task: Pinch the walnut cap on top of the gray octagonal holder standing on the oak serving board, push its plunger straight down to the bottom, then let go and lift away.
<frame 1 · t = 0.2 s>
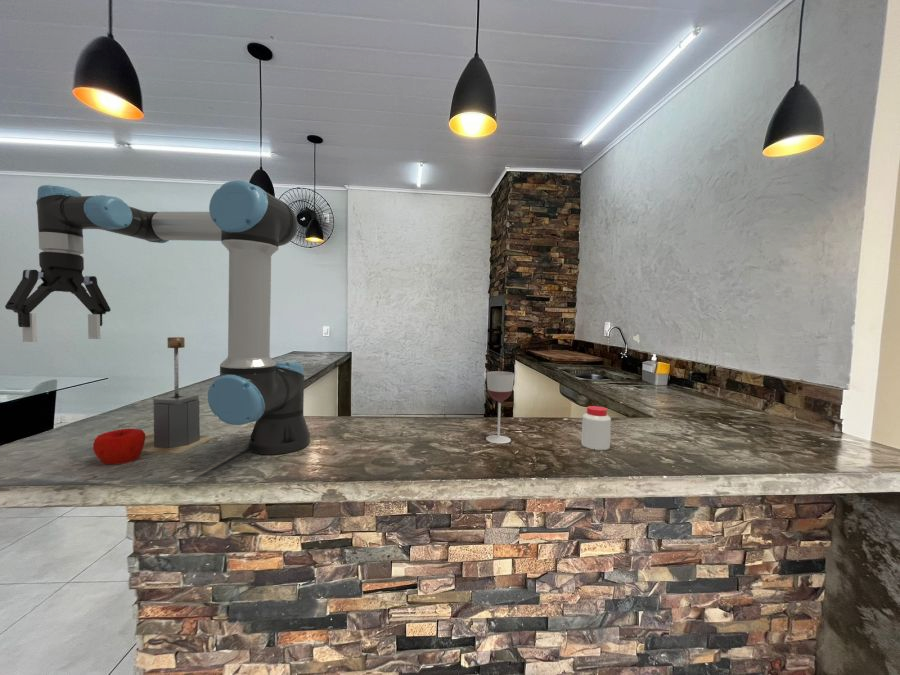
hand: (64, 340, 91), 28 cm above the countertop, fingers open, 13 cm apart
board: (160, 446, 98), on the countertop
plunger: (176, 374, 98), point 19 cm above the countertop, slide at 0.0 cm
apple: (121, 465, 86), on the countertop
wineglass: (498, 439, 111), on the countertop
pill bottle: (595, 446, 108), on the countertop
gray octagonal holder: (177, 441, 99), resting on board
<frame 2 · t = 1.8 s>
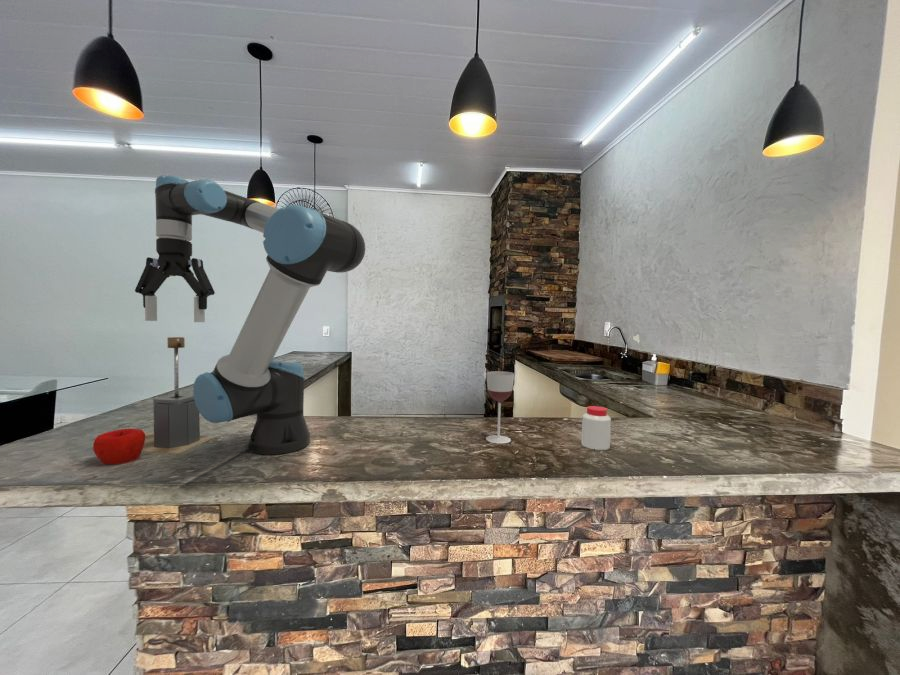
hand: (175, 321, 97), 33 cm above the countertop, fingers open, 13 cm apart
nothing on the countertop moved.
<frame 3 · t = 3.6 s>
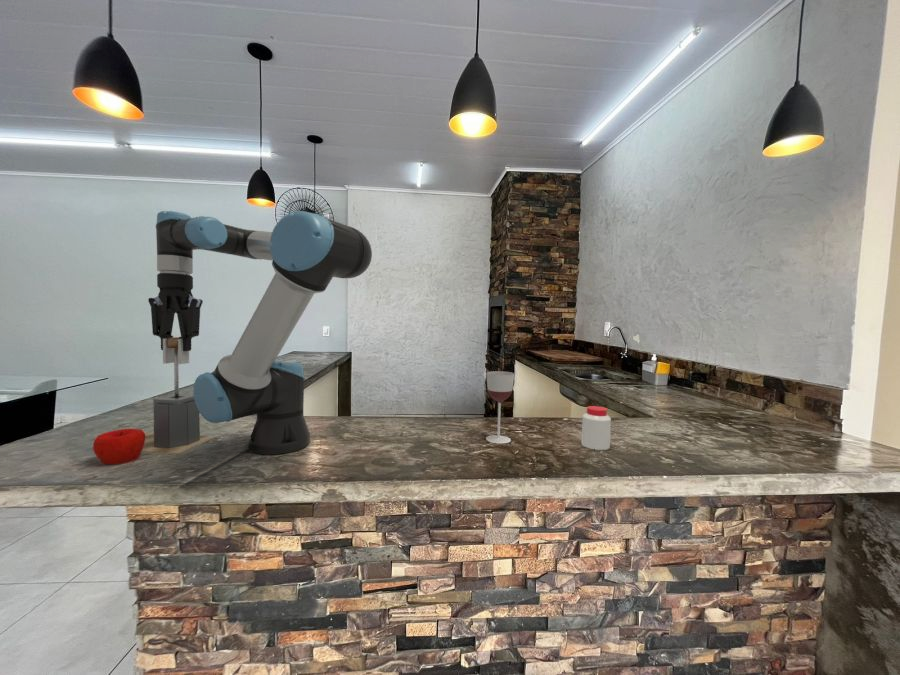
hand: (176, 363, 98), 22 cm above the countertop, fingers closed on plunger, 4 cm apart
plunger: (176, 374, 98), point 19 cm above the countertop, slide at 0.0 cm, touching gripper
everything else where it was.
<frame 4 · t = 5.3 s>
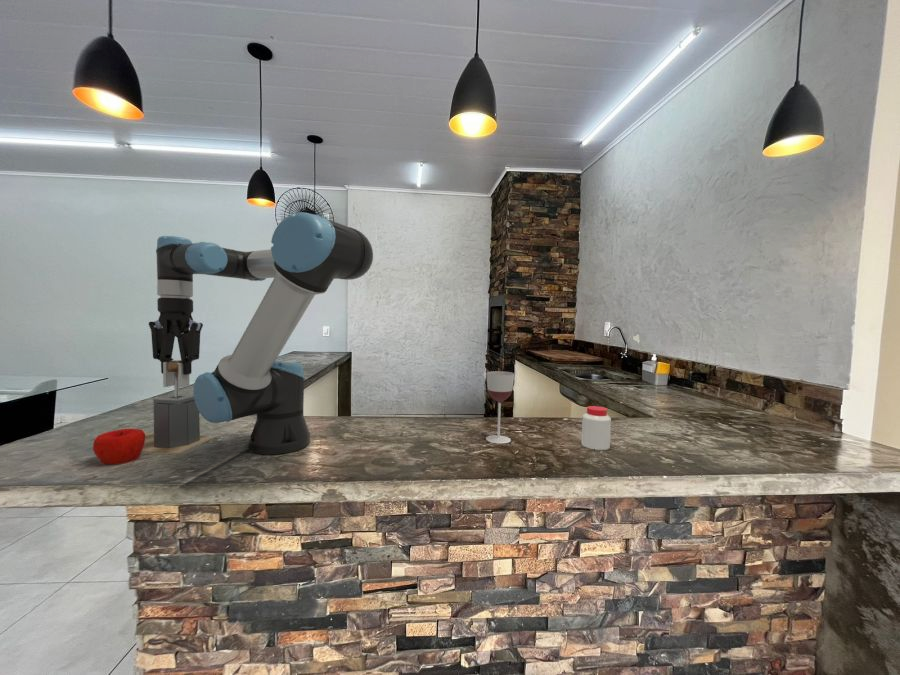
hand: (176, 386, 98), 16 cm above the countertop, fingers closed on plunger, 4 cm apart
plunger: (176, 397, 98), point 13 cm above the countertop, slide at 6.2 cm, touching gripper
everything else where it was.
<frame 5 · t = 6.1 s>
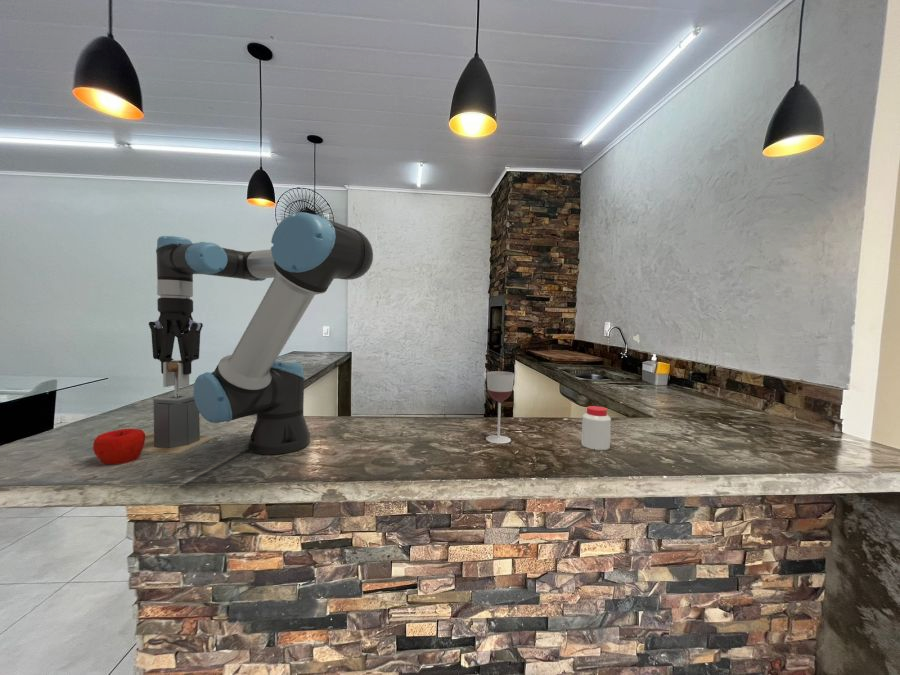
hand: (176, 386, 98), 16 cm above the countertop, fingers closed on plunger, 3 cm apart
plunger: (176, 397, 98), point 13 cm above the countertop, slide at 6.2 cm, touching gripper
everything else where it was.
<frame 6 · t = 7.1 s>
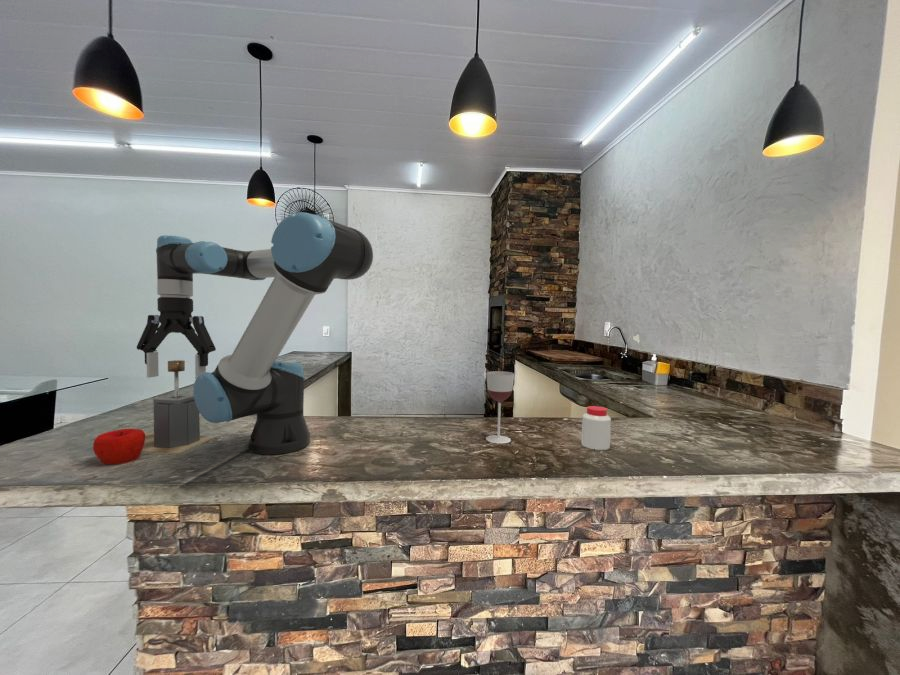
hand: (176, 377, 98), 18 cm above the countertop, fingers open, 13 cm apart
plunger: (176, 397, 98), point 13 cm above the countertop, slide at 6.2 cm
everything else where it was.
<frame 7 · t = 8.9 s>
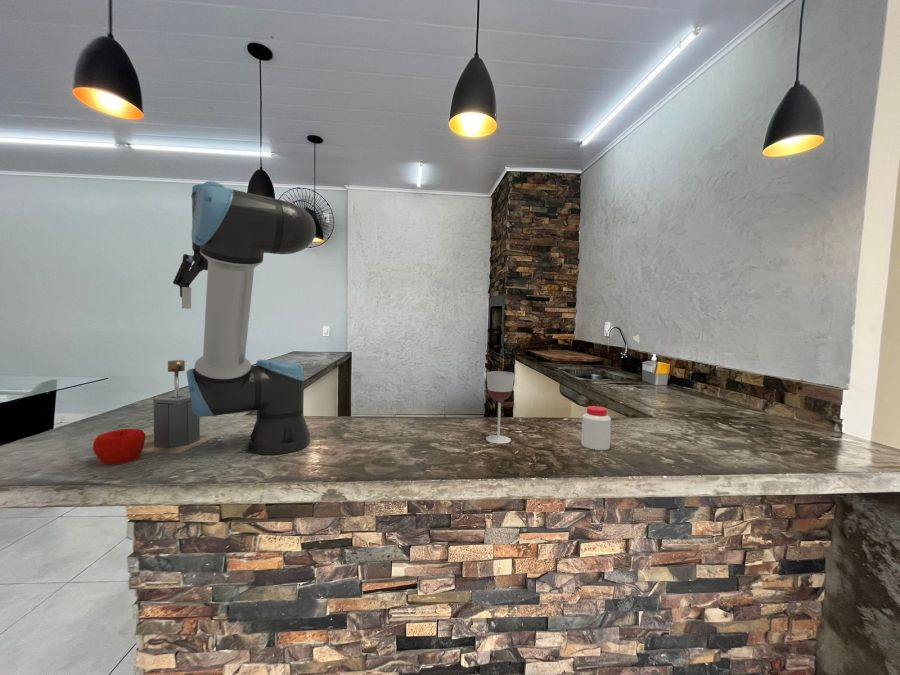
hand: (207, 309, 114), 37 cm above the countertop, fingers open, 13 cm apart
nothing on the countertop moved.
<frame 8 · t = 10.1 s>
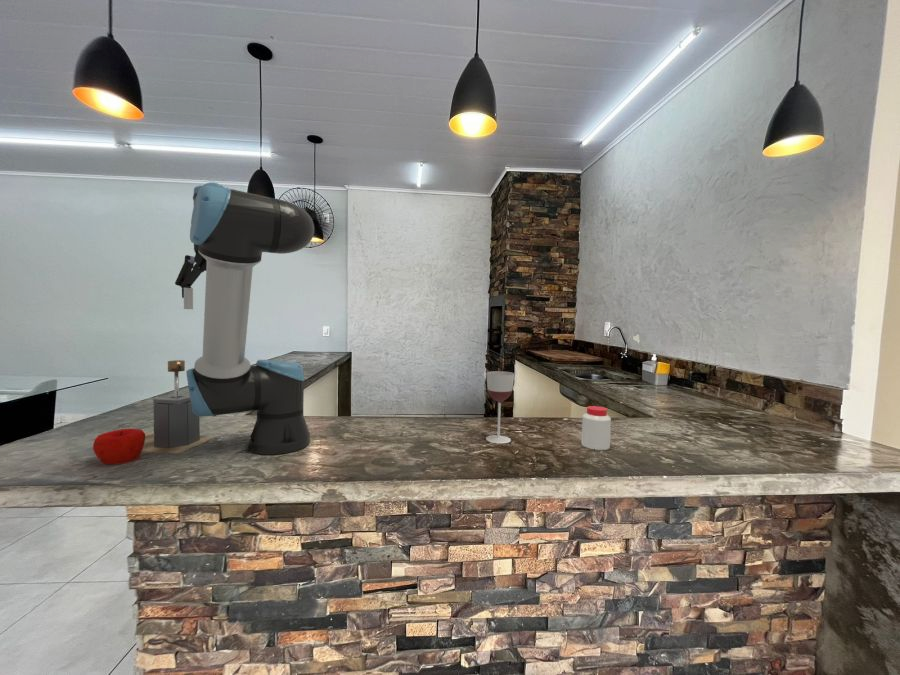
hand: (209, 309, 114), 37 cm above the countertop, fingers open, 13 cm apart
nothing on the countertop moved.
at the end: plunger slide at 6.2 cm; the gripper is holding nothing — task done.
